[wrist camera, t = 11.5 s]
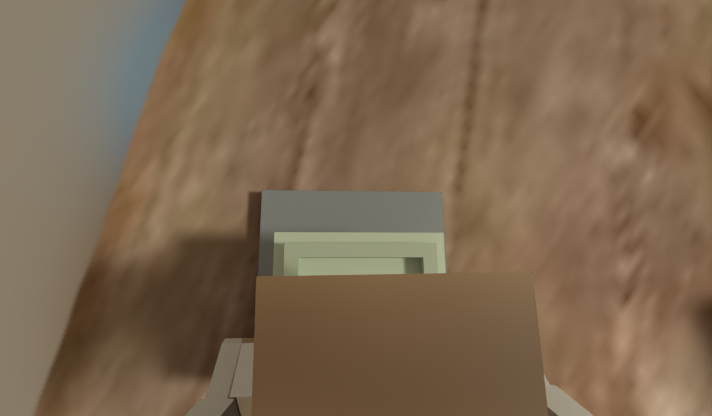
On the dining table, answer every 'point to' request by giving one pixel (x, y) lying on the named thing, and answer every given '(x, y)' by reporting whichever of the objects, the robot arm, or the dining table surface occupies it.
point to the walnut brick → (397, 345)
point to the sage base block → (351, 233)
